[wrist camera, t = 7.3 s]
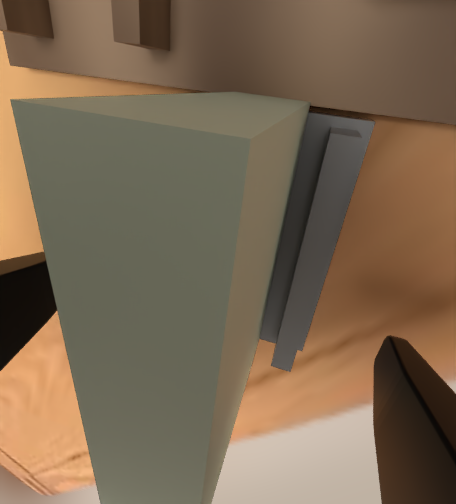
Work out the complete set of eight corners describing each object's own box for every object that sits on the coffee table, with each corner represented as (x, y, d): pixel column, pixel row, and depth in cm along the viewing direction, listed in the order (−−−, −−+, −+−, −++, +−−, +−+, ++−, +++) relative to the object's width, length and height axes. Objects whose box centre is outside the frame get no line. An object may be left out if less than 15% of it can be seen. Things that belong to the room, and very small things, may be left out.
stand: (372, 119, 10) (383, 127, 8) (303, 338, 14) (298, 379, 12) (184, 93, 11) (151, 95, 9) (178, 303, 16) (155, 334, 14)
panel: (310, 101, 9) (251, 138, 2) (259, 340, 14) (192, 568, 7) (234, 91, 10) (10, 99, 3) (210, 325, 15) (106, 528, 8)
